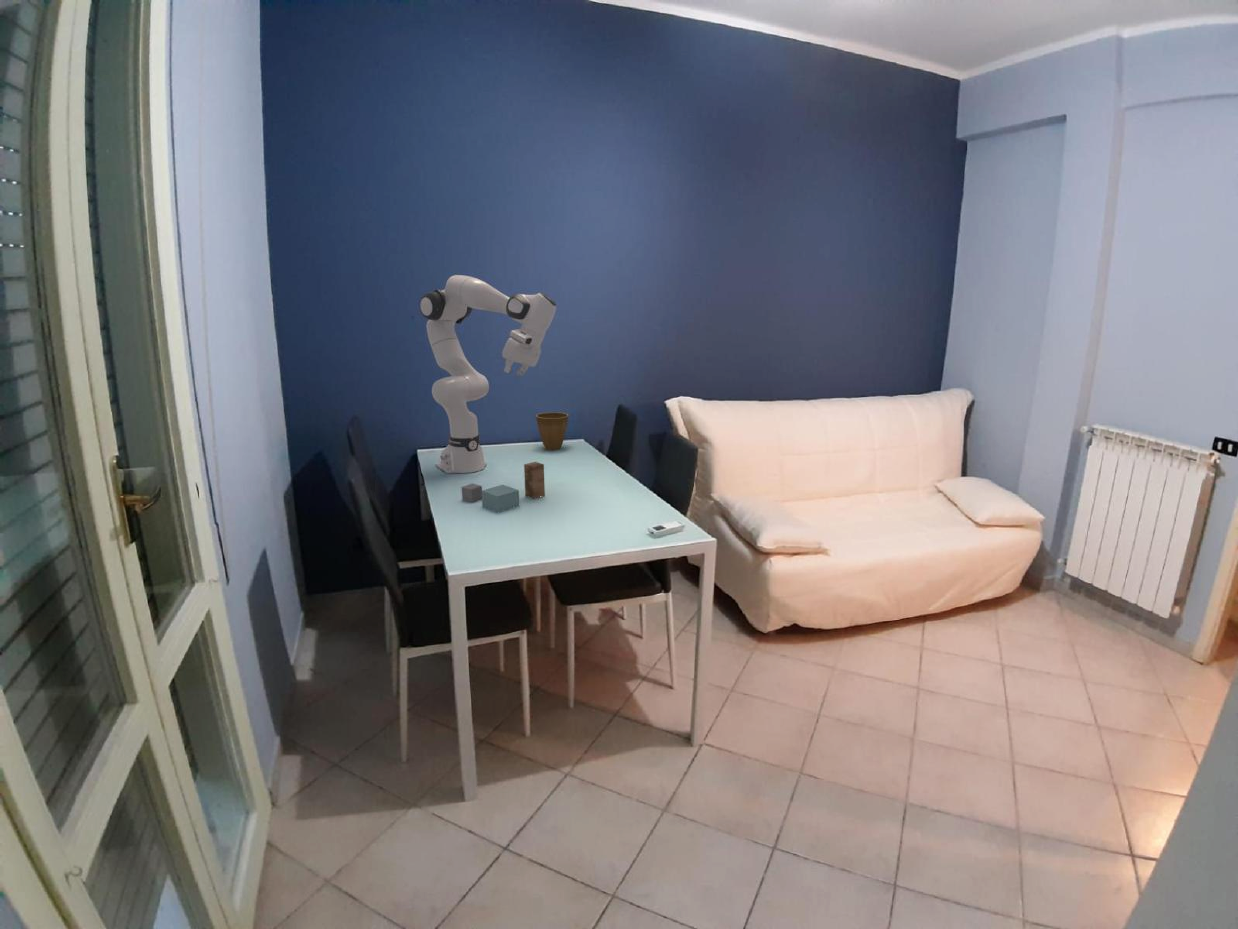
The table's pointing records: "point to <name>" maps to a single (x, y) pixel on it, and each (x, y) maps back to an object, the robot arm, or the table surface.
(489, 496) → the teal base block
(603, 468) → the table surface
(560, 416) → the plant pot
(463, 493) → the charcoal cube
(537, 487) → the walnut block
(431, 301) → the robot arm
